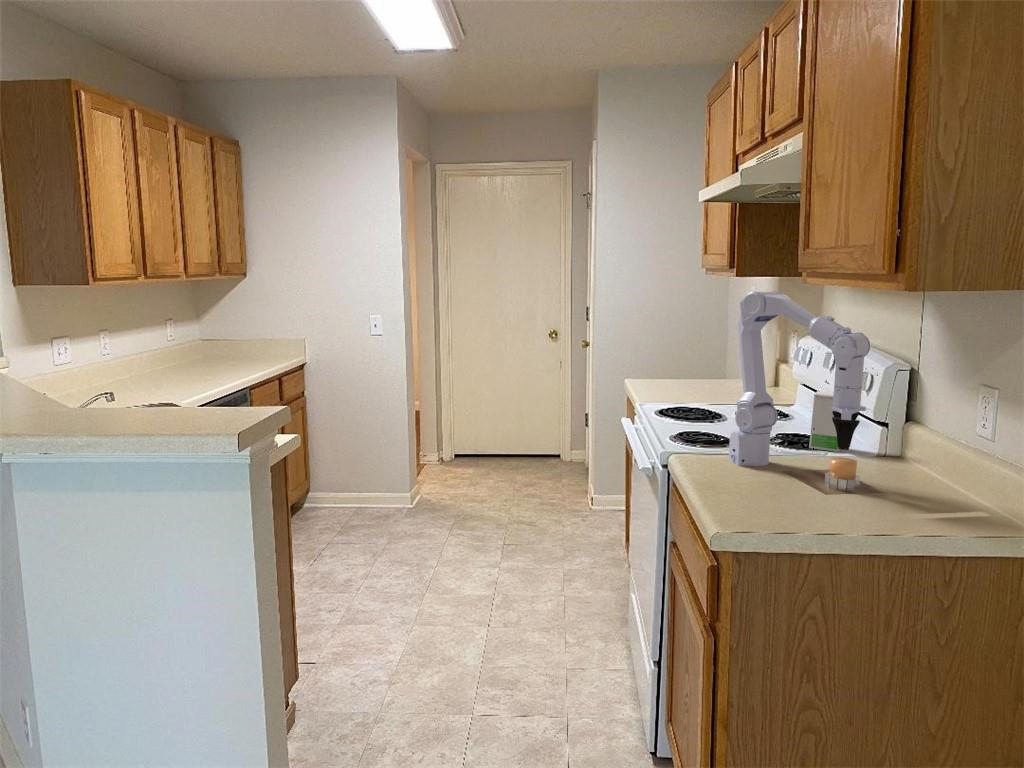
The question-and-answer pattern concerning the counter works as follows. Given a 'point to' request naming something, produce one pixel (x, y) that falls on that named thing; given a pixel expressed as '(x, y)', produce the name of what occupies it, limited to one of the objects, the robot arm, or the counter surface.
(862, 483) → the brown board
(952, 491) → the counter surface
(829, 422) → the skincare box
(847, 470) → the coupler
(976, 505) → the counter surface
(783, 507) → the counter surface
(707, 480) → the counter surface
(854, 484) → the duct stub
